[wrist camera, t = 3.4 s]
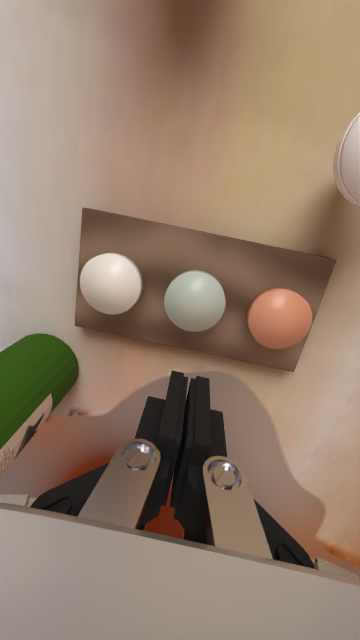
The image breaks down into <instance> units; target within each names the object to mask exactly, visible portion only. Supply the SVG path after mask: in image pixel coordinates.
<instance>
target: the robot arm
mask: <svg viewBox="0 0 360 640" xmlns="http://www.w3.org/2000/svg"><path fill="white" fill-rule="evenodd" d="M187 381H188V377H184V373H181V372H176V371H172V373H171V377H170V382H169V387H168V391H167V396H166V400H164V399H159V398H155V397H150V396H148V399H147V402H146V405H145V408H144V411H143V414H142V417H141V420H140V424H139V427H138V430H137V433H136V436H135V439H131V440H128V441H126V442H124V443H123V444H121V446H120V447H119V448H118V449H117V451H116V453H115V454H114V456H113V458H112V459H111V461H110V462H109V463H107V464H105V465H103V466H100V467H98V468H96V469H94V470H92V471H90V472H88V473H85V474H83V475H81V476H79V477H77V478H75V479H72V480H70V481H68V482H66V483H64V484H62V485H59V486H57V487H55V488H53V489H51V490H49V491H47V492H46V493H43V494H42V495H40V496H39V497H38V498H29V494H1V495H0V640H360V576H357V575H355V574H353V573H351V572H348V571H346V570H344V569H342V568H340V567H338V566H335V565H333V564H331V563H329V562H327V561H325V560H323V559H320V558H318V557H317V558H316V560H313V559H310V557H309V555H308V554H307V552H305V550H304V549H303V548H302V547H301V546H300V544H298V542H297V541H295V540H294V539H293V538H292V537H291V536H290V535H289V534H288V533H287V532H286V531H285V530H284V529H283V528H282V527H281V526H280V525H279V524H278V523H277V522H276V521H275V520H274V519H273V518H272V517H271V516H270V515H269V514H268V513H267V512H266V511H265V510H264V509H263V508H262V507H261V506H260V505H259V504H258V503H257V502H256V501H255V500H254V499H253V496H252V493H251V490H250V487H249V484H248V481H247V478H246V475H245V474H244V471H243V470H242V468H241V467H240V466H239V465H238V464H237V463H236V462H234V461H233V460H231V459H229V458H227V452H226V442H225V431H224V422H223V413H222V412H220V411H216V410H211V409H210V391H209V390H210V389H209V378H204V377H200V376H197V377H196V379H193V378H191V382H190V386H189V391H188V394H187V399H186V391H187ZM185 401H186V403H185ZM173 473H174V476H173ZM172 477H173V483H172V492H171V500H170V507H172V508H175V514H174V519H176V520H178V521H179V522H180V524H181V525H182V527H183V528H184V529H185V530H184V536H183V539H179V538H174V537H169V536H165V535H160V534H155V533H151V532H146V531H145V527H146V523H148V522H149V521H151V520H152V519H154V518H155V517H156V516H158V515H159V511H160V507H161V505H164V506H165V505H166V501H167V497H168V493H169V489H170V485H171V481H172Z"/></svg>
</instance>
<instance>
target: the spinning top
mask: <svg viewBox="0 0 360 640" xmlns="http://www.w3.org/2000/svg"><path fill="white" fill-rule="evenodd" d="M333 174H334V179H335V183H336V185H337V187H338V189H339V191H340V192H341V194H342V195H343V196H344V197H345V198H346V199H347V200H348V201H349V202H351V203H352V204H354V205H356V206H358V207H360V113H359V114H358V115H357V116H356V117H355V118H354V119H353V120H352V121H351V122H350V124H349V125H348V126H347V128H346V129H345V131H344V133H343V134H342V136H341V138H340V140H339V143H338V145H337V148H336V151H335V155H334V161H333Z"/></svg>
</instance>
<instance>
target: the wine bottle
mask: <svg viewBox="0 0 360 640" xmlns="http://www.w3.org/2000/svg"><path fill="white" fill-rule="evenodd" d="M77 375H78V361H77V359H76V356H75V354H74V353H73V351H72V350H71V348H70V347H69V346H68V345H67V344H66V343H64V342H63V341H62V340H60V339H58V338H56V337H55V336H51V335H48V334H33V335H29V336H26V337H24V338H22V339H21V340H19V341H17V342H16V343H14V344H13V345H11V346H10V347H8V348H6V349H5V350H3V351H2V352H0V477H1V475H2V474H3V473H4V472H5V470H6V469H7V468H8V467H9V465H10V464H11V463H12V462H13V460H14V459H15V458H16V457H17V455H18V454H19V453H20V452H21V450H22V449H23V448H24V447H25V445H26V444H27V443H28V442H29V440H30V439H31V438H32V437H33V435H34V434H35V433H36V432H37V430H38V429H39V428H40V427H41V425H42V424H43V423H44V422H45V420H46V419H47V418H48V416H49V415H50V414H51V412H52V411H53V410H54V409H55V407H56V406H57V405H58V404H59V402H60V401H61V400H62V399H63V397H64V396H65V395H66V394H67V392H68V391H69V390H70V389H71V387H72V386H73V385H74V383H75V381H76V379H77Z"/></svg>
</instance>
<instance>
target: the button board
mask: <svg viewBox="0 0 360 640" xmlns="http://www.w3.org/2000/svg"><path fill="white" fill-rule="evenodd" d="M105 253H119V254H122V255H125V256H127V257H128V258H130V259H131V260H132V261H133V262H134V263H135V264H136V265H137V267H138V268H139V270H140V272H141V275H142V278H143V289H142V293H141V296H140V297H139V299H138V300H137V302H136V303H135V304H134V305H133V306H132V307H131V308H130V309H129V310H127V311H125V312H123V313H121V314H114V315H112V314H105V313H102V312H99V311H97V310H96V309H94V308H93V307H92V306H91V305H90V304H89V303H88V302H87V301H86V300H85V298H84V296H83V294H82V292H81V288H80V275H81V271H82V269H83V267H84V266H85V264H86V263H87V262H88V261H89V260H90V259H92V258H94V257H96V256H98V255H102V254H105ZM335 263H336V260H334V259H331V258H327V257H322V256H317V255H313V254H308V253H303V252H298V251H293V250H288V249H284V248H279V247H274V246H269V245H264V244H259V243H255V242H250V241H245V240H240V239H235V238H230V237H225V236H221V235H216V234H211V233H206V232H201V231H196V230H192V229H187V228H182V227H177V226H172V225H167V224H162V223H158V222H153V221H148V220H143V219H138V218H133V217H129V216H124V215H119V214H114V213H109V212H104V211H99V210H95V209H89V208H83V210H82V225H81V240H80V255H79V269H78V284H77V299H76V314H75V326H79V327H84V328H89V329H93V330H98V331H103V332H107V333H112V334H117V335H122V336H126V337H131V338H136V339H141V340H145V341H150V342H155V343H160V344H164V345H169V346H174V347H178V348H183V349H188V350H193V351H197V352H202V353H207V354H212V355H216V356H221V357H226V358H231V359H235V360H240V361H245V362H249V363H254V364H259V365H264V366H268V367H273V368H278V369H283V370H287V371H292V372H294V370H295V367H296V365H297V362H298V360H299V357H300V354H301V352H302V349H303V347H304V344H305V341H306V339H307V336H308V333H309V332H308V333H307V335H306V336H305V337H304V338H303V339H302V340H301V341H300V342H298V343H297V344H295V345H293V346H291V347H288V348H284V349H272V348H268V347H265V346H263V345H261V344H260V343H259V342H257V341H256V340H255V339H254V337H253V336H252V334H251V332H250V329H249V327H248V324H247V310H248V307H249V305H250V303H251V302H252V300H253V299H254V298H255V297H256V296H257V295H258V294H260V293H261V292H263V291H265V290H267V289H270V288H275V287H283V288H288V289H291V290H293V291H295V292H296V293H298V294H299V295H300V296H302V297H303V298H304V299H305V300H306V301H307V302H308V304H309V306H310V308H311V311H312V323H313V320H314V318H315V315H316V313H317V310H318V307H319V305H320V302H321V299H322V297H323V294H324V292H325V289H326V286H327V284H328V281H329V278H330V276H331V273H332V271H333V268H334V265H335ZM189 270H201V271H205V272H207V273H210V274H211V275H213V276H214V277H215V278H216V279H217V280H218V281H219V283H220V284H221V286H222V288H223V291H224V295H225V301H226V303H225V310H224V313H223V315H222V317H221V318H220V320H219V321H218V322H217V323H216V324H215V325H214V326H212V327H211V328H209V329H207V330H204V331H199V332H191V331H186V330H183V329H181V328H179V327H178V326H176V325H175V324H174V323H173V322H172V321H171V320H170V319H169V317H168V315H167V313H166V311H165V306H164V298H165V293H166V291H167V289H168V287H169V285H170V283H171V282H172V280H173V279H174V278H175V277H176V276H178V275H179V274H181V273H183V272H185V271H189ZM311 326H312V324H311ZM310 328H311V327H310ZM309 331H310V330H309Z"/></svg>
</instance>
